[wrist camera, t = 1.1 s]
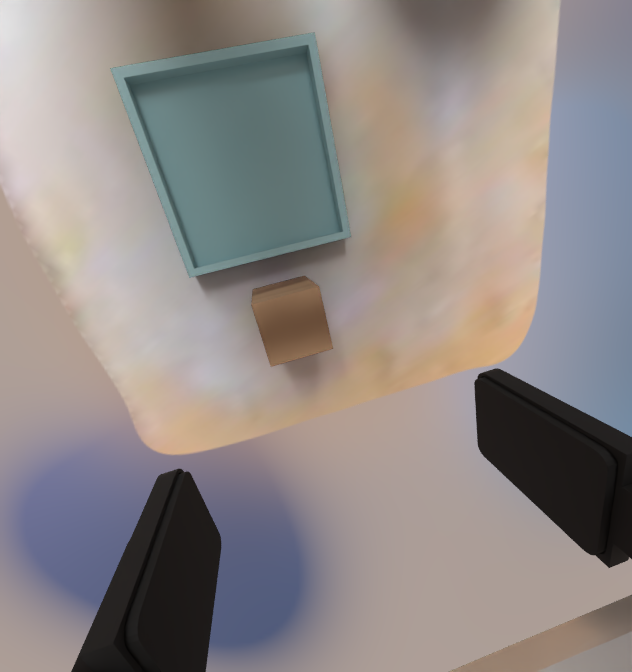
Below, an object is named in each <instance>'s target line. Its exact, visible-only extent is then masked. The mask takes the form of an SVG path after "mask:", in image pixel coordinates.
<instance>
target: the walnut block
mask: <svg viewBox="0 0 632 672" xmlns="http://www.w3.org/2000/svg"><path fill="white" fill-rule="evenodd" d="M251 305H252V308H253V312H254V315H255V318H256V321H257V324H258V327H259V331H260V334H261V337H262V340H263V343H264V346H265V350H266V353H267V356H268V359H269V362H270V365H271V367H272V366H275V365H279V364H282V363H285V362H289V361H292V360H296V359H299V358H303V357H306V356H309V355H313V354H316V353H320V352H323V351H327V350H330V349H333V346H332V342H331V337H330V333H329V328H328V324H327V320H326V315H325V311H324V306H323V302H322V298H321V293H320V289H319V286H318V285H316V284H315V283H314V282H312V281H311V280H310V279H308V278H307V277H306V276H302V277H298V278H294V279H290V280H286V281H282V282H279V283H275V284H271V285H267V286H263V287H260V288H256V289H253V293H252V303H251Z"/></svg>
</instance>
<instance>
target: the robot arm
mask: <svg viewBox="0 0 632 672" xmlns="http://www.w3.org/2000/svg"><path fill="white" fill-rule="evenodd" d="M475 402H476V421H477V439H478V447H479V450H480V452H481V453H482V454H483V456H484V457H485V458H486V459H487V460H488V461H490V462H491V463H492V464H493V465H494V466H495V467H496V468H497V469H498V470H499V471H500V472H501V473H502V474H503V475H504V476H506V477H507V478H508V479H509V480H510V481H511V482H512V483H513V484H514V485H515V486H516V487H517V488H518V489H519V490H520V491H522V493H524V494H525V495H526V496H527V497H528V498H529V499H530V500H531V501H532V502H533V503H534V504H535V505H536V506H537V507H538V508H540V509H541V510H542V511H543V512H544V513H545V514H546V515H547V516H548V517H549V518H550V519H551V520H552V521H553V522H554V523H555V524H556V525H557V526H559V527H560V528H561V529H562V530H563V531H564V532H565V533H566V534H567V535H568V536H569V537H570V538H571V539H573V541H575V542H576V543H577V544H578V545H579V546H580V547H581V548H582V549H583V550H584V551H586V552H587V553H589V554H590V555H596V556H597V557H598V558H599V559H600V560H601V561H602V562H603V563H604V564H606V565H607V566H608V567H609V568H610V567H612V566H615V565H618V564H620V563H623V562H625V561H627V560H628V559H629V557H630V558H631V559H632V437H630V436H628V435H626V434H624V433H623V432H621V431H619V430H617V429H615V428H613V427H611V426H609V425H607V424H605V423H603V422H601V421H599V420H597V419H595V418H594V417H592V416H590V415H588V414H586V413H584V412H582V411H580V410H578V409H576V408H574V407H572V406H570V405H568V404H567V403H564V402H563V401H561V400H559V399H557V398H555V397H553V396H551V395H549V394H547V393H545V392H543V391H541V390H539V389H538V388H536V387H534V386H532V385H530V384H528V383H526V382H524V381H522V380H520V379H518V378H516V377H514V376H512V375H510V374H509V373H507V372H504V371H503V370H501V369H493V370H490V371H487V372H483V373H480V374H479V375H478V379H477V380H475ZM220 553H221V537H220V534H219V532H218V529H217V527H216V525H215V523H214V521H213V519H212V517H211V515H210V513H209V511H208V509H207V507H206V505H205V502H204V500H203V498H202V496H201V494H200V492H199V490H198V488H197V486H196V484H195V482H194V480H193V478H192V476H191V474H190V473H189V472H184V471H183V470H182V469H177V470H174V471H170V472H167V473H164V474H161V475H159V476H158V478H157V480H156V482H155V484H154V487H153V489H152V491H151V494H150V496H149V498H148V500H147V503H146V505H145V507H144V510H143V512H142V515H141V516H140V519H139V521H138V524H137V526H136V528H135V530H134V532H133V535H132V537H131V539H130V541H129V542H128V544H127V546H126V549H125V551H124V553H123V556H122V558H121V560H120V562H119V565H118V567H117V569H116V571H115V574H114V576H113V578H112V581H111V583H110V585H109V587H108V590H107V592H106V594H105V596H104V599H103V601H102V603H101V605H100V608H99V610H98V612H97V615H96V617H95V619H94V622H93V624H92V626H91V628H90V631H89V633H88V635H87V637H86V640H85V642H84V644H83V646H82V649H81V651H80V653H79V655H78V658H77V660H76V662H75V665H74V667H73V669H72V671H71V672H206V664H207V656H208V648H209V640H210V632H211V624H212V615H213V608H214V600H215V593H216V584H217V577H218V569H219V561H220ZM450 672H632V595H630V596H628V597H626V598H623V599H621V600H618V601H616V602H614V603H611V604H609V605H606V606H604V607H602V608H599V609H597V610H594V611H592V612H590V613H587V614H585V615H582V616H580V617H578V618H575V619H573V620H570V621H568V622H565V623H563V624H561V625H558V626H556V627H554V628H551V629H549V630H547V631H544V632H542V633H539V634H537V635H534V636H532V637H530V638H527V639H525V640H522V641H520V642H518V643H515V644H513V645H511V646H508V647H506V648H504V649H501V650H499V651H497V652H494V653H492V654H489V655H487V656H485V657H482V658H480V659H478V660H475V661H473V662H471V663H468V664H466V665H463V666H461V667H459V668H457V669H454V670H452V671H450Z"/></svg>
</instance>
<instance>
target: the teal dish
mask: <svg viewBox="0 0 632 672" xmlns="http://www.w3.org/2000/svg"><path fill="white" fill-rule="evenodd" d="M110 69H111V72H112V74H113V77H114V80H115V82H116V85H117V87H118V90H119V93H120V95H121V98H122V101H123V103H124V106H125V109H126V111H127V114H128V116H129V119H130V122H131V124H132V127H133V130H134V132H135V135H136V138H137V140H138V143H139V146H140V148H141V151H142V153H143V156H144V159H145V161H146V164H147V167H148V169H149V172H150V175H151V177H152V180H153V183H154V185H155V188H156V190H157V193H158V196H159V198H160V201H161V204H162V206H163V209H164V212H165V214H166V217H167V220H168V222H169V225H170V227H171V230H172V233H173V235H174V238H175V241H176V243H177V246H178V249H179V251H180V254H181V256H182V259H183V262H184V264H185V267H186V270H187V272H188V275H189V278H190V277H194V276H198V275H202V274H206V273H210V272H214V271H218V270H222V269H226V268H230V267H234V266H238V265H242V264H246V263H250V262H254V261H258V260H262V259H266V258H270V257H274V256H277V255H281V254H285V253H289V252H293V251H297V250H301V249H305V248H309V247H313V246H317V245H321V244H325V243H329V242H333V241H337V240H341V239H345V238H349V237H351V233H350V228H349V222H348V217H347V211H346V205H345V200H344V194H343V189H342V183H341V177H340V172H339V166H338V160H337V155H336V149H335V144H334V138H333V132H332V127H331V121H330V116H329V110H328V104H327V99H326V93H325V87H324V82H323V76H322V71H321V65H320V59H319V54H318V48H317V43H316V37H315V32H314V33H308V34H302V35H297V36H291V37H285V38H280V39H274V40H268V41H263V42H257V43H251V44H245V45H240V46H234V47H228V48H223V49H217V50H211V51H206V52H200V53H194V54H189V55H183V56H177V57H172V58H166V59H160V60H154V61H149V62H143V63H137V64H132V65H126V66H120V67H115V68H110Z"/></svg>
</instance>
